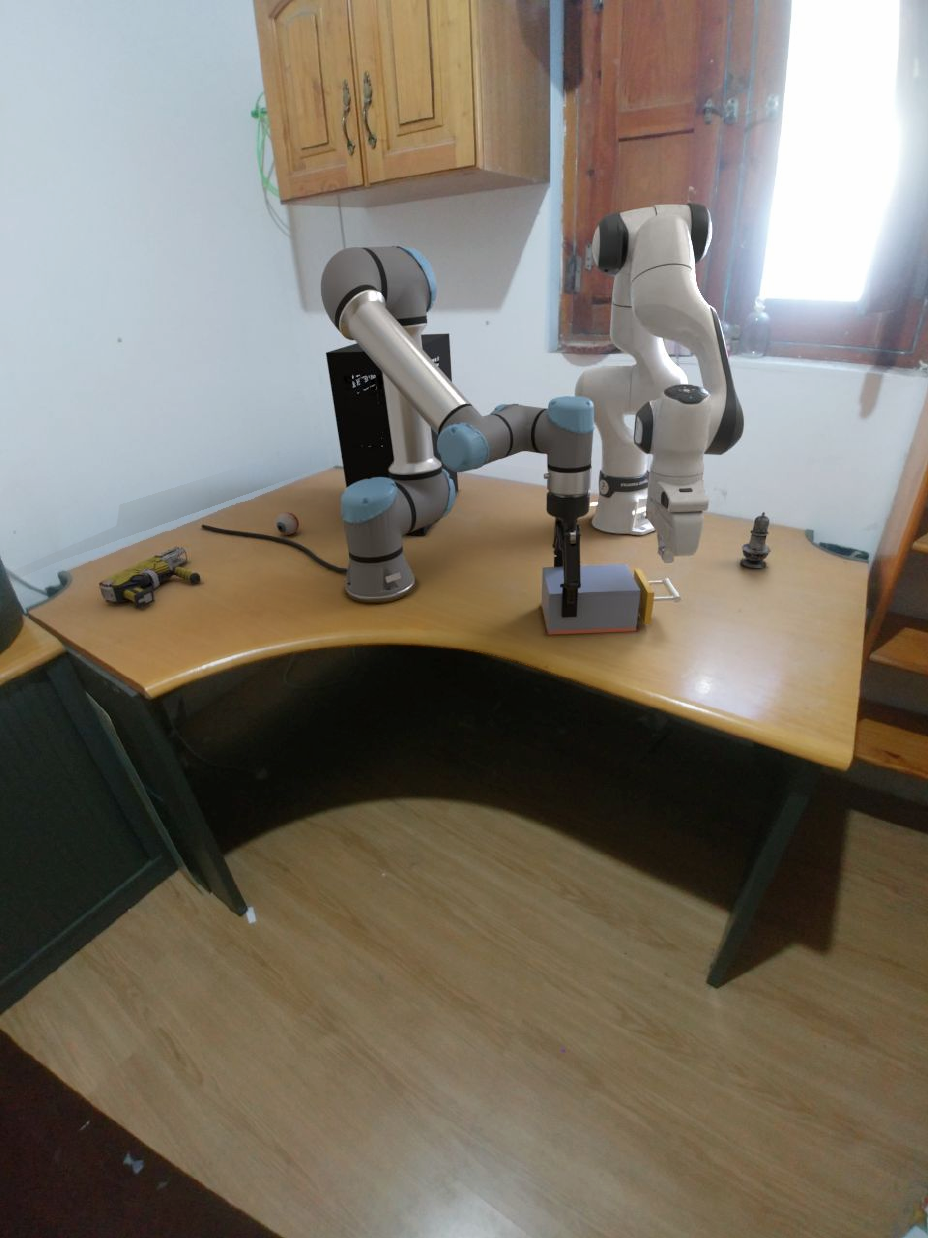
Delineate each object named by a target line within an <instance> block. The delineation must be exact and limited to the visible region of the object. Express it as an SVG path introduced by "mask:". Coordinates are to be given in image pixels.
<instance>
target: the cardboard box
mask: <svg viewBox="0 0 928 1238" xmlns="http://www.w3.org/2000/svg"><path fill="white" fill-rule="evenodd" d="M421 341H422V349H423V351H424V352H425V353H426V354H427V355H428V356H429V357H430V358H431V360H432V361H433V360H434V361H433V362H434V363H435V364H436V365H437V366H438V367H439V369H440V370H441V371H442V372H443V373H444V374H445V375H446V376H447V377H448V379H449V380H450V381H451V382H452V383H453V375H452V357H451V343H450V342H451V340H450V333H429V334H428V333H424V334H423V333H422V334H421ZM325 356H326V362H327V364H326V365H327V370H328V374H329V383H330V390H331V396H332V402H333V409H334V415H335V421H336V428H337V429H336V430H337V435H338V441H339V448H340V454H341V455H340V456H341V461H342V469H343V474H344V482H345V487H346V488H347V487H349V486H350V485H352V484H354V483H356V482H358V481H361V480H364V479H371V478H374V477H385V478H389V479H390V476H389V467H390V465H391V464H392V463H393V461H394V454H393V447H392V440H391V432H390V425H389V418H388V411H387V403H386V396H385V389H384V381H383V374H382V371H381V370H380V368H379V367H378V366H377V365H376V364H375V363H374V362H373V360H372V359H371V358H370V357H369V356H368V355H367V354H366V352H365V351H364V350H363V349H362V348H361V347H360V345H359V344H358V343H357V342H355V343H353V344H350V345H347V346H343V347H339V348H337V349H333V350H330V351H327V352H325ZM431 435H432V445H433V454H434V457H435V458H437V459H438V460H439V461H440V462H441V464H442V468H443V469H444V470H446V471H447V472H448V473H449V475H450V477H449V478H450V479H452V480H453V483H454V486H455V495H456V494H457V493H458V491H459V481H458V480H459V479H458V472H455V471H452V470H450V469H448V468H447V467H446V466H445V465H444V464H443V462H442V460H441V456H440V454H439V453H438V448H437V441H438V437H439V436H438V435H437V434H436V433H435V431H434V430H433V429H432V428H431ZM346 488H345V489H346ZM434 524H435V523H433V524H429V525H427V526H424V527H422V528H419V529H417V530H414V531H412V532H410V533H407V534H405V535H404V536H406V535H407V536H426V534H428V532H429V531H430V529H431V528H432V526H433V525H434Z"/></svg>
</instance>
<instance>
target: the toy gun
mask: <svg viewBox="0 0 928 1238" xmlns="http://www.w3.org/2000/svg"><path fill="white" fill-rule="evenodd" d="M184 554H185V558H181V556H182V555H184ZM187 562H188V554H187V550H186V549H185V548H184V547H179V546H175V547H173V548H171V549H168V550H167V551H164V552H162V553H161V554H159V555H157V554H155V555H154V556H152V557H150V558H147V559H145V560H142V561H141V562H139V563H137V564H135V565H132V566H129V568H127V569H124V570H122V571H120V572H118V573H116V574H113V575H111V576H109V577H107V578H105V579H103V580H101V581H99V583H98V586H99V589H100V593H101V597H102V599H103V600H105V602H106V603H110V604H112V603H114V602H115V603H123V602H126V601H132V602H134V604H135V606H136V609H141V608H143V607H145V606H148V605H150V604H153V603H154V602H155V596H154V592H153V590H155V589H157V588H158V587H160V583H161V582H164V581H166V580H169V579H172V577H173V576H175V577H178V578H179V579H182V580H185V581H187V582H190V583H192V585H195V584H198V583H200V581H201V575H200V574H199V573H198V572H194V571H191V570H189V569H186V568H184V567H181V565H182V564H184V563H187Z"/></svg>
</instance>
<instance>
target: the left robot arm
mask: <svg viewBox="0 0 928 1238" xmlns="http://www.w3.org/2000/svg"><path fill="white" fill-rule="evenodd" d="M437 289H438V288H437V280H436V276H435V272H434V270H433V267H432V266H431V264H430V262H429V261H428V259H427V258H426V257H425V256H424V255H423V253H421V252H420V251H419V250H417V249H415V248H413V247H410V246H409V247H407V246H400V245H391V246H370V247H369V246H368V247H363V246H362V247H358V246H351V247H347V248H343V249H341V250H339V251H338V252H336V253H335V254H334V255H332V256H331V257H330V258H329V260H328V261H327V263H326V264H325V266H324V269H323V272H322V274H321V278H320V296H321V301H322V304H323V305H322V306H323V308H324V310H325V312H326V315H327V316H328V318H329V320H330V321H331V323H332V324H333V326H334V327H335V328H336V330H337V331H339V333H340V334H341V336H343V338H345V339H347V340H348V341H355V343H358V344H359V345H360V347H361V348H362V349H363V350H364V351H365V352H366V354H367V355H368V356H369V357H370V358H371V359H372V360H373V362H374V363H375V364H376V365H377V366H378V367H379V368H380V370H381V371H382V374H383V381H384V389H385V396H386V403H387V411H388V418H389V425H390V432H391V440H392V447H393V454H394V461H393V463H392V464H391V465H390V467H389V476H390V479H389V478H385V477H374V478H371V479H364V480H361V481H358V482H356V483H354V484H352V485H350V486H349V487H347V488H345V489H344V490H343V491H342V493H341V497H340V507H341V508H340V509H341V511H340V514H341V515H340V516H341V518H342V521H343V528H344V533H345V540H346V544H347V551H348V558H349V559H348V560H349V561H348V564H347V565H348V566H347V568H345V567H339V566H336V565H334V564H331V563H329V562H327V561H325V560H323V559H322V558H320V557H319V556H317V555H316V554H315V553H314V552H312V551H311V550H310V549H309V548H307V547H305V546H304V545H301V544H300V543H297V542H295V541H292V540H290V539H286V538H283V537H280V536H274V535H269V534H263V533H257V532H256V533H255V532H248V531H242V530H233V529H226V528H219V527H216V526H215V527H214V526H210V525H206V524H201V528H202V529H205V530H209V531H213V532H218V533H222V534H228V535H229V534H230V535H237V536H245V537H253V538H259V539H260V538H261V539H266V540H271V541H276V542H280V543H283V544H286V545H290V546H293V547H295V548H297V549H300V550H301V551H303V552H304V553H306V554H307V555H309V556H310V557H311V558H312V559H313V560H314V561H316V562H317V563H319V564H321V565H322V566H323V567H326V568H328V569H330V570H333V571H335V572H339V573H345V574H346V577H345V581H344V582H345V583H344V586H345V592H346V595H347V596H348V598H350V599H351V600H353V601H355V602H359V603H363V604H384V603H385V604H386V603H390V602H393V601H397V600H400V599H402V598H404V597H406V596H409V594H410V593H411V592H412V591H413V590H414V589H415V586H416V580H415V575H414V573H413V570H412V569H411V566H410V564H409V561H408V560H407V557H406V556H405V553H404V547H403V536H406V535H405V534H407V533H410V532H412V531H414V530H417V529H419V528H422V527H424V526H427V525H429V524H433V523H434V524H436V523H438V522H439V521H440V520H442V519H444V518H445V517H447V516H448V515H449V514H450V512H452V510H453V508H454V505H455V503H456V502H455V501H456V494H455V486H454V483H453V480H452V479H450V478H449V477H450V475H449V473H448V472H447V471H446V470H444V469H443V468H442V464H441V462H440V461H439V460H438V459H437V458H435V457H434V454H433V445H432V435H431V428H432V429H433V430H434V431H435V433H436V434H437V435H438V436H439V437H438V441H437V448H438V453H439V454H440V456H441V460H442V462H443V464H444V465H445V466H446V467H447V468H448V469H450V470H452V471H455V472H457V473H464V472H469V471H473V470H478V469H480V468H483V466H486V465H488V464H491V463H493V462H496V461H498V460H503V459H506V458H509V457H512V456H514V455H516V454H520V453H522V452H528V453H535V454H540V455H546V468H547V473H543V479H544V480H546V490H548V491H547V493H546V507H545V508H546V510H545V511H546V513H547V514H548V515H549V516H551V517H553V518H554V527H553V537H552V538H553V539H552V545H551V546H552V549H553V567H563V575H564V583H563V584H560V588H562V614H561V616H562V618H565V617H577V601H578V588H581V580H580V566H581V536H582V534H581V527H580V526H581V525H580V524H578V519H579V518H582V517H583V518H584V516H586V515H587V514H589V512H590V503H591V502H590V501H591V493H590V492H589V491H590V490H591V489H592V472H593V471H592V470H593V465H592V456H593V441H594V430H595V427H596V425H595V423H594V405H593V402H592V401H591V400H590V399H588V398H586V397H579V396H575V395H574V396H570V395H566V396H565V395H564V396H557V397H553V398H552V399H550V401H549V402H548V404H547V407H538V406H531V405H523V404H520V403H509V404H508V403H501V404H499V405H496V407H494V409H493V410H492V411H491V412H490V413H489V414H486V415H482V414H481V412H479V410H477V408H476V407H475V406H474V405H473V404H472V403H471V402H470V401H469V400H468V399H467V398H466V397H465V395H464V394H463V393H462V392H461V391H460V389H458V387H457V386H456V385H455V384H454V383H453V381H452V382H451V381H450V380H449V379H448V377H447V376H446V375H445V374H444V373H443V372H442V371H441V370H440V369H439V367H438V364H435V363H434V361H433V359H432V360H431V358H430V357H429V356H428V355H427V354H426V353H425V352H424V351H423V349H422V341H421V335H422V334H423V332H424V331H425V329H426V327H427V326H428V316H427V313H428V312H430V311H431V310H432V308H433V306H434V302H435V301H436V299H437V291H438V290H437ZM434 524H433V525H434Z"/></svg>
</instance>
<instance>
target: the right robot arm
mask: <svg viewBox="0 0 928 1238" xmlns="http://www.w3.org/2000/svg"><path fill="white" fill-rule="evenodd" d="M711 216H712V215H711V213H710V211H709V209H708V208H707V207H706V206H705V205H704V204H701V203H700V204H699V203H694V202H693V203H692V202H688V203H687V204H675V203H673V204H671V203H669V204H668V203H667V204H653V205H652V206H647V207H640V208H639V207H638V208H634V209H630V210H626V211H625V210H624V211H622V212H620V211H619V210H617V211H614V212H610V213H608V214H606V215H603V216H602V217H601V219H600V220H599V221H598V223H597V225H596V228H595V231H594V234H593V238H592V242H591V243H592V244H591V251H592V256H593V257H592V258H593V261H594V262H595V267H596V269H597V270H598V271H599V272H600V273H601V274H603V275H609V276H614V278H613V286H612V296H611V307H610V309H611V310H610V322H609V323H610V324H609V325H610V326H609V338H610V341H611V342H612V344H613V345H614V346H615V347H616V348H617V349H618V350H620V351H622V352H623V353H626V354H628V355H629V356H631V357H632V358H633V359H634V360H635V362H636V363H635V364H633V365H605V366H604V365H603V366H599V367H598V366H597V367H594V368H590V369H586V370H584V371H583V372H582V373H581V374H580V376H579V377H578V379H577V380H576V384H575V386H574V396H579V397H586V398H588V399H590V400H591V401H592V402H593V405H594V425H595V427H596V429H597V431H598V434H599V436H600V437H599V438H600V443H601V468H600V470H599V474H598V492H599V493H598V498H597V501H596V502H590V504H589V507H592V506H596V507H595V511H594V514H593V517H592V520H591V525H592V526H593V527H594V528H595V529H597V530H599V531H601V532H605V533H611V534H623V535H625V534H626V535H632V536H633V535H634V536H645V535H646V534H650V533H652V532H654V531H656V537H657V538H656V539H657V547H658V548H657V554H658V555H659V557H660V558H661V560H662V562H663V563H664V564H672V563H674V560H675V557H692V556H694V555H695V554H696V553H697V551H698V549H699V545H700V542H701V537H702V533H703V525H704V512H705V511H708V509H709V504H710V499H709V497H708V494H707V492H706V489H705V482H704V480H703V478H704V472H705V464H704V456H705V455H710V456H712V455H713V456H722V455H724V454H725V453H727V452H728V451H729V450H731V449H732V448H733V447H734V446H736V444H737V443H738V442H739V441H740V439H741V438H742V436H743V433H744V428H745V416H744V411H743V408H742V405H741V402H740V400H739V399H740V398H739V397H738V395H737V390H736V387H735V383H734V380H733V374H732V370H731V365H730V360H729V355H728V350H727V346H726V342H725V341H726V340H725V337H724V333H723V329H722V325H721V321H720V318H719V315H718V313H717V310H716V309H715V308H714V307H713V306H711V305H709V304H708V303H707V302H706V300H705V299H704V298H703V296H702V294H701V293H700V290H699V288H698V286H697V281H696V267H695V265H697V264H698V263H700V261H702V260H703V259H704V257H706V254H707V252H708V250H709V246H710V243H711V240H712V235H713V225H712V217H711ZM664 340H666V341H670V342H673V343H676V344H678V345H681V346H682V347H684V348H686V349H688V350H689V351H690V352H691V353H692V354H693V355H694V356H695V358H696V360H697V363H698V369H699V372H700V378H701V381H702V382H701V383H702V387H701V386H699V385H694V384H689V382H688V377H687V375H686V374H685V372H684V370H683V369H681V367H679V366H678V365H677V364H676V363H675V362H674V361H673V360H672V359H671V358H670V356H669V354H668V352H667V350H666V347H665V343H664ZM626 416H635V419H634V427H632V426H630V425H629V424H627V422H626V421H625V417H626ZM649 455H651V456H652V461H651V464H650V467H649V470H648V469H647V466H648V458H649V457H648V456H649Z"/></svg>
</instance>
